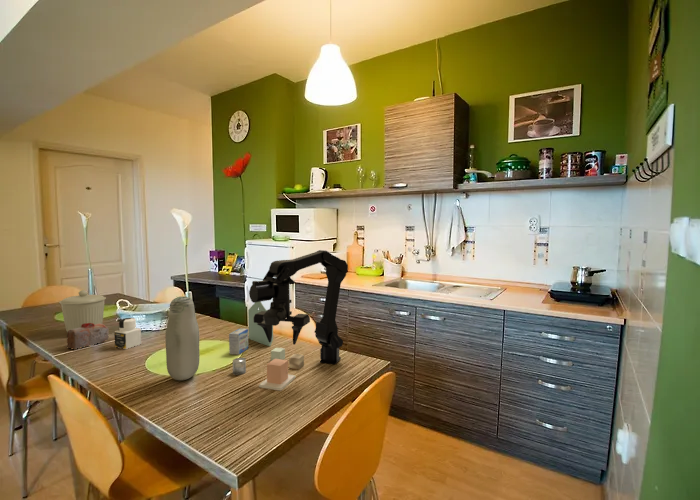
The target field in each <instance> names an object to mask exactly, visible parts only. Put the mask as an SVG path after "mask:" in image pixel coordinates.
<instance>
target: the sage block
mask: <svg viewBox="0 0 700 500" xmlns="http://www.w3.org/2000/svg"><path fill="white" fill-rule="evenodd" d="M274 359H281V360H286V348H283V347H275V348H273V349H272V350H270V362H271V361H272V360H274Z"/></svg>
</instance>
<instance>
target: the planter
mask: <svg viewBox="0 0 700 500" xmlns="http://www.w3.org/2000/svg"><path fill="white" fill-rule="evenodd" d="M267 310H268V309H266V308H265V306H264V304H263V303H262V301H261V302H256V303H253V304H252V305H251V306H250V307H249V309H248V312H247V317H248V326H247V327H248V340H251V341H254V342H256V343H259V344H261V345H264V346H267V347H271V346H272V343H273V340H274V326H273V325H272V341H271V342H269V341H268V339H267V336H266V334H265V331H264V330H263V328H262V327H261V326H260V325H257V323H254V320H253V317H254V315H255V314H257V313H259V312H261V311H267Z"/></svg>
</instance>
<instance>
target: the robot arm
mask: <svg viewBox="0 0 700 500" xmlns="http://www.w3.org/2000/svg"><path fill="white" fill-rule="evenodd" d="M317 264H320V265H321V266H322V267H324V269H325V275H326V278H327V286H326V287H327V288H326V294H325V298H324V299H325V300H324V301H325V302H324V306H323V314H322V318H321V319H320V321H319V322H318V321H316V323H315V329H314V332H313V333H315V338H316V339H317V341H318V343H319V344H320V345H321V348H320V352H319V353H320V355H319V356H320V361H319V363H324V364H330V365H337V363H338V362H339V361H340V360H341V359H342V357H341V356H340V348H341V347H342V346H343V343H344V340H343V339H342V337H340V336H339V330H338V329H339V327H338V325H337V324H338V323H337V321H336V317H337V311H338V303H339V297H340V290H341V286H342V285H341V284H342V282H343V281H344V279H345V278H346V276H347V273H348V269H349V265H348V263H347V262H346V260H344V259H341V258H340V257H338V256H336V255H334V254H332V253H331V252H329V251H328V250H321V249H320V250H317V251H314V252H312V253H308V254H305V255H302V256H300V257H296V258H293V259H281V260H274V261H272V262H271V263H270V264H269V269H268V271H267V272H266V273H265V275H264V277H263V279H262V280H252V282H251V283H252V285H250V287H249V290H248V293H249V294H248V296H249V299H250V301H251V302H252V303H253V304H254V303H256V302H261V303H262V302H265V301H271V300H272V301H271V302H270V304H269V309H266V310H267V311H261V312H259V313H257V314H255V315H254V317H253V320H254V323H257V325H260V326H261V327H262V328H263V330H264V331H265V334H266V336H267V339H268V341H269V342H271V341H272V325H273V327H274V326H279V324H280V323H281V322H288V323H289V322H290V323H292V326H291V329H292V345H296V344H297V340H298V338H299V336H300V333H301V331H302V329H303V328H304V327H305V326H306V325H307V324H309V323H310V322H311V317H310V315H309V314H308V313H297V314H296V315H292V313H293V312H292V311H291V303H292V299H291V296H290V295H291V292H290V291H291V290H290V285H294V284H296V281H294V280H293V279H292V278H291V277H292V276H294V275H295V274H297V272H299V271H300V270H301V271H302V270H303V269H306V268H309V267H312V266H314V265H315V266H316V265H317ZM272 342H273V341H272Z"/></svg>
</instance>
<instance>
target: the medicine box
mask: <svg viewBox="0 0 700 500" xmlns="http://www.w3.org/2000/svg"><path fill="white" fill-rule="evenodd" d="M228 347H229V348H228V350H229V351H228V352H229V355H235V356H237V355H238V356H239V354H240V355H241V354H242V353H244V352H246V350H248V349H249V328H237V329H236V330H234V331H231V332H230V333H228Z"/></svg>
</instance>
